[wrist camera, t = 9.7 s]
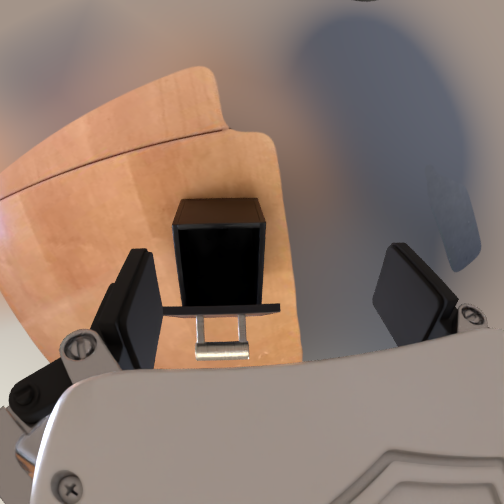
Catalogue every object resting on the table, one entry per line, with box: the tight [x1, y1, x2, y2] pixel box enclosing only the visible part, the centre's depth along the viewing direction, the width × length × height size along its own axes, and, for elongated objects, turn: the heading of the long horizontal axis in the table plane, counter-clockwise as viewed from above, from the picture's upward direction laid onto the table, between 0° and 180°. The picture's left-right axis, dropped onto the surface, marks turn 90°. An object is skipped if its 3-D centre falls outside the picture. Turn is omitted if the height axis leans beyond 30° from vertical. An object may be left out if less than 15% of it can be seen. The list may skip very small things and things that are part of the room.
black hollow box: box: [172, 198, 266, 306], centre depth 40 cm, size 13×11×9 cm
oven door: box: [163, 303, 280, 361], centre depth 32 cm, size 14×11×5 cm
